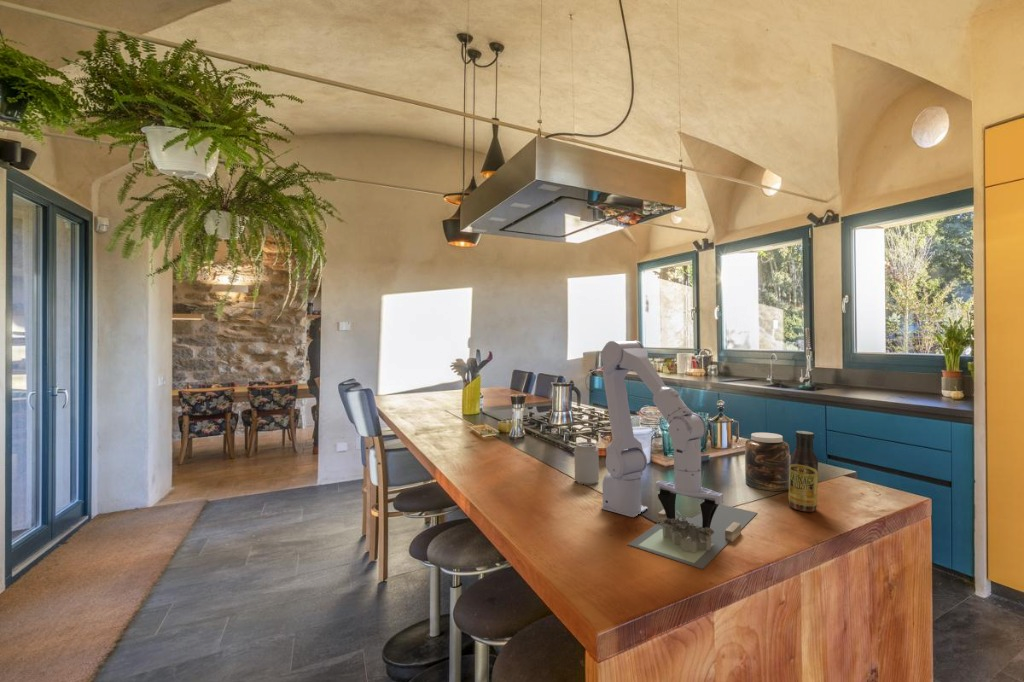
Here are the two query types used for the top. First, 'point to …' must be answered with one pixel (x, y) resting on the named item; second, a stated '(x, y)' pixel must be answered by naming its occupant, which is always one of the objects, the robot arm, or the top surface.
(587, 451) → the can
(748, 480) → the jar
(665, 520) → the egg carton
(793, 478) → the sauce bottle
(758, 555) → the top surface
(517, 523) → the top surface
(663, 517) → the lane walls
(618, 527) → the top surface
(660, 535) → the lane mat
